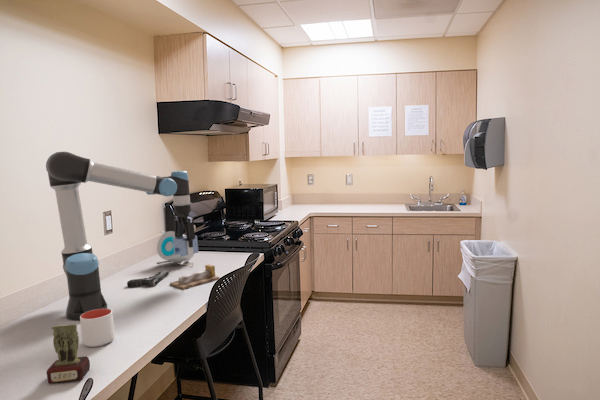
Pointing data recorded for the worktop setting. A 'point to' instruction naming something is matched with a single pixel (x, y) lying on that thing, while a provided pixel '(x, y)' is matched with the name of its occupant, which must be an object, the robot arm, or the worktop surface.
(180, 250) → the slate grey block
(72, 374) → the sculpture
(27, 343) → the worktop surface
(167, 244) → the satellite
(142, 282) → the handgun
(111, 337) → the cup
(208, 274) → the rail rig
